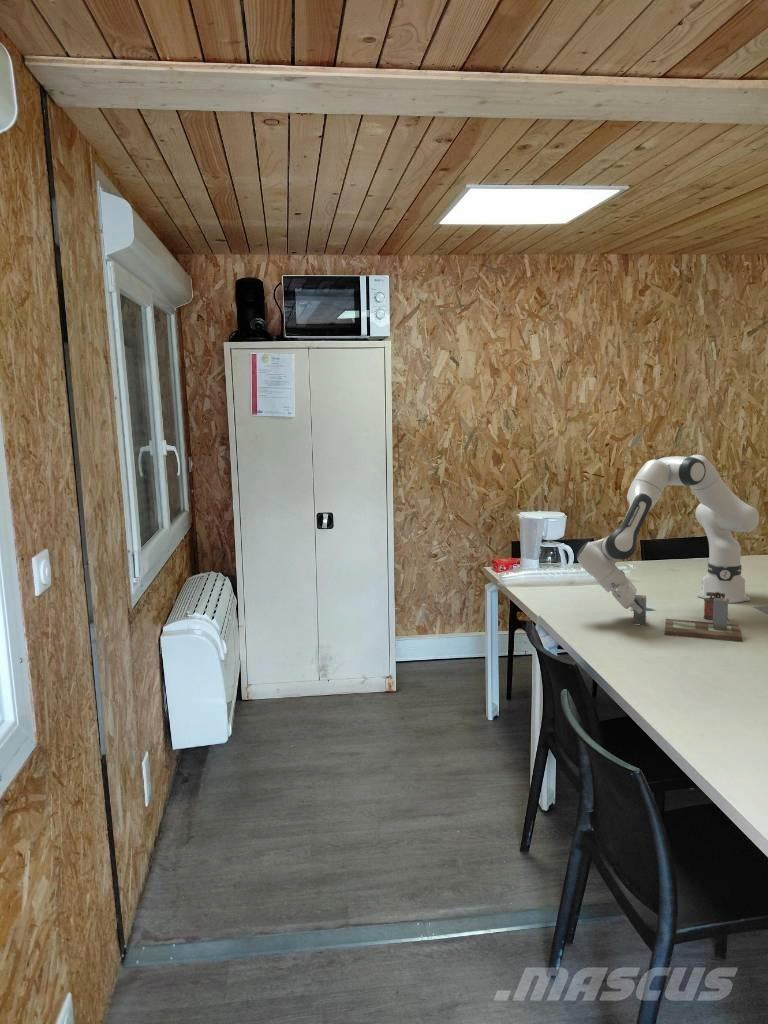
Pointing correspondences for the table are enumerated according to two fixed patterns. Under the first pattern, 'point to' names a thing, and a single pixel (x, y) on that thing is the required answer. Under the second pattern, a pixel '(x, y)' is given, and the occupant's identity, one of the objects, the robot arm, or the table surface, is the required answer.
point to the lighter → (711, 604)
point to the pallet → (701, 630)
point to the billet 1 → (641, 617)
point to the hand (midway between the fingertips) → (641, 609)
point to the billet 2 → (720, 614)
